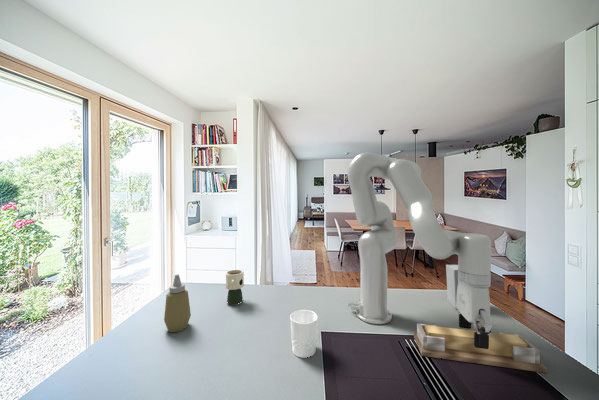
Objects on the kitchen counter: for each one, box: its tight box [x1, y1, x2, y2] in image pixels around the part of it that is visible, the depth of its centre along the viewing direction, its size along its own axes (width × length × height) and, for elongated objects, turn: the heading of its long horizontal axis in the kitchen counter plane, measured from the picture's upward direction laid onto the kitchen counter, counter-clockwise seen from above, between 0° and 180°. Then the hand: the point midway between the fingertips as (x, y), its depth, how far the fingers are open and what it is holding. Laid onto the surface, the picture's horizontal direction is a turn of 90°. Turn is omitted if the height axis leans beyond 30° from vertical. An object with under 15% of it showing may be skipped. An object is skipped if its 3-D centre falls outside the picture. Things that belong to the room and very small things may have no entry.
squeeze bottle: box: [163, 273, 192, 333], centre depth 82 cm, size 8×8×18 cm
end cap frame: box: [412, 323, 548, 374], centre depth 69 cm, size 29×10×5 cm, turn 77°
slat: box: [425, 324, 527, 357], centre depth 69 cm, size 24×4×4 cm, turn 77°
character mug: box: [225, 269, 245, 305], centre depth 100 cm, size 11×7×13 cm, turn 6°
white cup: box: [289, 309, 319, 359], centre depth 70 cm, size 8×8×10 cm
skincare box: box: [445, 264, 458, 310], centre depth 97 cm, size 8×7×16 cm
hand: (472, 337), depth 69 cm, fingers open, 9 cm apart
